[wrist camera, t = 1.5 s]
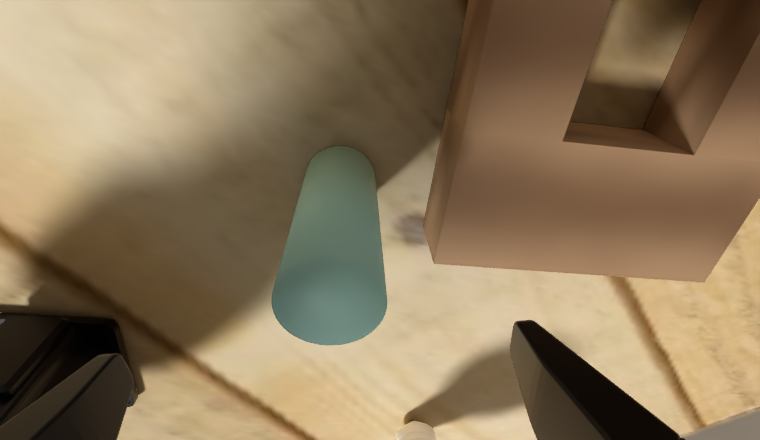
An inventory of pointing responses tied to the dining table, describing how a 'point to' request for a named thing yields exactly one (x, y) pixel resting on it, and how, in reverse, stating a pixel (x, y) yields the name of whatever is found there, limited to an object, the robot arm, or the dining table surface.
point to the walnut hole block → (594, 148)
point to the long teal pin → (333, 253)
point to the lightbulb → (416, 432)
